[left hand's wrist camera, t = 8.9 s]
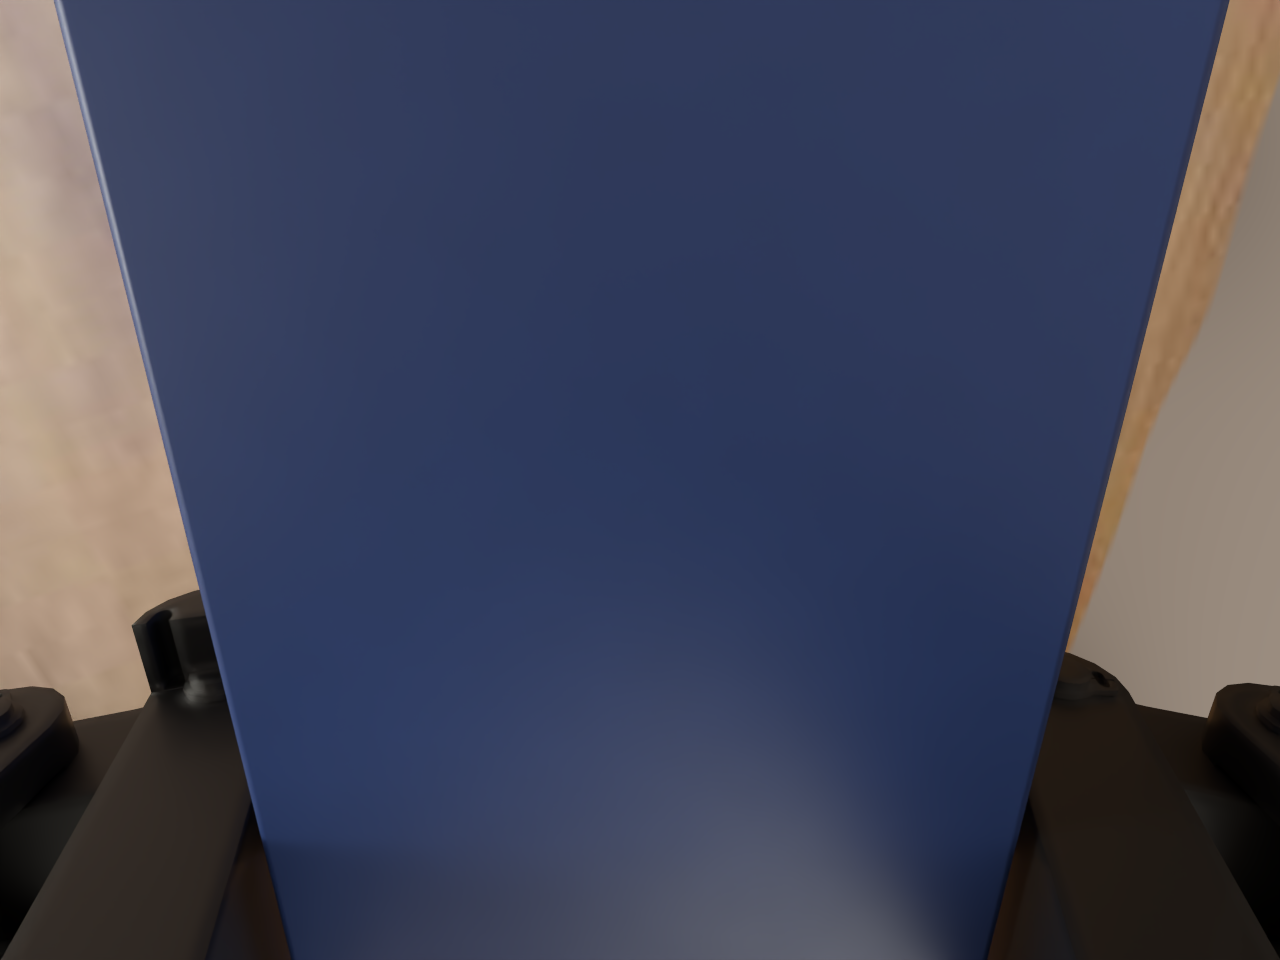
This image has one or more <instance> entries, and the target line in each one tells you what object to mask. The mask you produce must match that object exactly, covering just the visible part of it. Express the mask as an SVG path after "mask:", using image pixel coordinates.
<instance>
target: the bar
mask: <svg viewBox="0 0 1280 960" xmlns="http://www.w3.org/2000/svg"><path fill="white" fill-rule="evenodd" d="M54 3H55V7H56V11H57V15H58V19H59V23H60V27H61V31H62V35H63V39H64V44H65V48H66V52H67V56H68V60H69V64H70V68H71V72H72V76H73V80H74V84H75V88H76V92H77V96H78V100H79V104H80V108H81V112H82V116H83V120H84V124H85V128H86V132H87V136H88V141H89V145H90V149H91V153H92V157H93V161H94V165H95V169H96V173H97V177H98V181H99V185H100V189H101V193H102V197H103V201H104V205H105V209H106V213H107V217H108V221H109V225H110V229H111V233H112V237H113V242H114V246H115V250H116V254H117V258H118V262H119V266H120V270H121V274H122V278H123V282H124V286H125V290H126V294H127V298H128V302H129V306H130V310H131V314H132V318H133V322H134V326H135V330H136V334H137V339H138V343H139V347H140V351H141V355H142V359H143V363H144V367H145V371H146V375H147V379H148V383H149V387H150V391H151V395H152V399H153V403H154V407H155V411H156V415H157V419H158V423H159V427H160V431H161V436H162V440H163V444H164V448H165V452H166V456H167V460H168V464H169V468H170V472H171V476H172V480H173V484H174V488H175V492H176V496H177V500H178V504H179V508H180V512H181V516H182V520H183V524H184V528H185V532H186V537H187V541H188V545H189V549H190V553H191V557H192V561H193V565H194V569H195V573H196V577H197V581H198V585H199V589H200V593H201V597H202V601H203V605H204V609H205V613H206V617H207V621H208V625H209V629H210V634H211V638H212V642H213V646H214V650H215V654H216V658H217V662H218V666H219V670H220V674H221V678H222V682H223V686H224V690H225V694H226V698H227V702H228V706H229V710H230V714H231V718H232V722H233V726H234V730H235V735H236V739H237V743H238V747H239V751H240V755H241V759H242V763H243V767H244V771H245V775H246V779H247V783H248V787H249V791H250V795H251V799H252V803H253V807H254V811H255V815H256V819H257V823H258V827H259V832H260V836H261V840H262V844H263V848H264V852H265V856H266V860H267V864H268V868H269V872H270V876H271V880H272V884H273V888H274V892H275V896H276V900H277V904H278V908H279V912H280V916H281V920H282V924H283V929H284V933H285V937H286V941H287V945H288V949H289V953H290V957H291V960H987V959H988V955H989V951H990V947H991V943H992V939H993V935H994V931H995V927H996V923H997V919H998V915H999V911H1000V907H1001V903H1002V899H1003V895H1004V891H1005V887H1006V883H1007V879H1008V875H1009V871H1010V867H1011V864H1012V860H1013V856H1014V852H1015V848H1016V844H1017V840H1018V836H1019V832H1020V828H1021V824H1022V820H1023V816H1024V812H1025V808H1026V804H1027V800H1028V796H1029V792H1030V788H1031V784H1032V780H1033V776H1034V772H1035V768H1036V765H1037V761H1038V757H1039V753H1040V749H1041V745H1042V741H1043V737H1044V733H1045V729H1046V725H1047V721H1048V717H1049V713H1050V709H1051V705H1052V701H1053V697H1054V693H1055V689H1056V685H1057V681H1058V677H1059V673H1060V669H1061V666H1062V662H1063V658H1064V654H1065V650H1066V646H1067V642H1068V638H1069V634H1070V630H1071V626H1072V622H1073V618H1074V614H1075V610H1076V606H1077V602H1078V598H1079V594H1080V590H1081V586H1082V582H1083V578H1084V574H1085V570H1086V567H1087V563H1088V559H1089V555H1090V551H1091V547H1092V543H1093V539H1094V535H1095V531H1096V527H1097V523H1098V519H1099V515H1100V511H1101V507H1102V503H1103V499H1104V495H1105V491H1106V487H1107V483H1108V479H1109V475H1110V471H1111V468H1112V464H1113V460H1114V456H1115V452H1116V448H1117V444H1118V440H1119V436H1120V432H1121V428H1122V424H1123V420H1124V416H1125V412H1126V408H1127V404H1128V400H1129V396H1130V392H1131V388H1132V384H1133V380H1134V376H1135V372H1136V369H1137V365H1138V361H1139V357H1140V353H1141V349H1142V345H1143V341H1144V337H1145V333H1146V329H1147V325H1148V321H1149V317H1150V313H1151V309H1152V305H1153V301H1154V297H1155V293H1156V289H1157V285H1158V281H1159V277H1160V273H1161V270H1162V266H1163V262H1164V258H1165V254H1166V250H1167V246H1168V242H1169V238H1170V234H1171V230H1172V226H1173V222H1174V218H1175V214H1176V210H1177V206H1178V202H1179V198H1180V194H1181V190H1182V186H1183V182H1184V178H1185V174H1186V171H1187V167H1188V163H1189V159H1190V155H1191V151H1192V147H1193V143H1194V139H1195V135H1196V131H1197V127H1198V123H1199V119H1200V115H1201V111H1202V107H1203V103H1204V99H1205V95H1206V91H1207V87H1208V83H1209V79H1210V75H1211V72H1212V68H1213V64H1214V60H1215V56H1216V52H1217V48H1218V44H1219V40H1220V36H1221V32H1222V28H1223V24H1224V20H1225V16H1226V12H1227V8H1228V4H1229V0H54Z"/></svg>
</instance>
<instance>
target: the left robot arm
mask: <svg viewBox="0 0 1280 960" xmlns="http://www.w3.org/2000/svg"><path fill="white" fill-rule="evenodd" d="M132 628H133V632H134V635H135V638H136V642H137V645H138V649H139V652H140V655H141V659H142V662H143V665H144V669H145V672H146V676H147V679H148V682H149V686H150V689H151V692H152V693H151V695H150V696H149V698H148V700H147V702H146V704H145V705H144V707H143V708H139V709H135V710H130V711H125V712H120V713H114V714H109V715H104V716H99V717H94V718H88V719H83V720H78V721H72V718H71V715H70V712H69V709H68V706H67V704H66V701H65V698H64V696H63V695H61V694H60V693H58V692H57V691H56V690H54V689H52V688H42V687H33V686H32V687H24V688H16V689H9V690H7V689H4V690H0V960H291V957H290V953H289V949H288V945H287V941H286V937H285V933H284V929H283V924H282V920H281V916H280V912H279V908H278V904H277V900H276V896H275V892H274V888H273V884H272V880H271V876H270V872H269V868H268V864H267V860H266V856H265V852H264V848H263V844H262V840H261V836H260V832H259V827H258V823H257V819H256V815H255V811H254V807H253V803H252V799H251V795H250V791H249V787H248V783H247V779H246V775H245V771H244V767H243V763H242V759H241V755H240V751H239V747H238V743H237V739H236V735H235V730H234V726H233V722H232V718H231V714H230V710H229V706H228V702H227V698H226V694H225V690H224V686H223V682H222V678H221V674H220V670H219V666H218V662H217V658H216V654H215V650H214V646H213V642H212V638H211V634H210V629H209V625H208V621H207V617H206V613H205V609H204V605H203V601H202V597H201V593H200V590H197V591H193V592H190V593H187V594H184V595H182V596H179V597H176V598H173V599H170V600H168V601H166V602H164V603H162V604H160V605H158V606H156V607H155V608H153V609H151V610H149V611H147V612H146V613H145V614H144V615H142V616H141V617H140V618H139V619H138V620H137V621H136V622H135V623H134V624H133V625H132ZM987 960H1280V686H1268V685H1261V684H1253V683H1243V684H1234V685H1227V686H1226V687H1224V688H1223V689H1221V690H1220V691H1219V692H1217V693H1216V696H1215V699H1214V702H1213V704H1212V707H1211V710H1210V713H1209V716H1208V718H1204V717H1199V716H1193V715H1188V714H1183V713H1178V712H1173V711H1167V710H1162V709H1157V708H1152V707H1146V706H1142V705H1138V704H1135V702H1134V701H1133V699H1132V697H1131V695H1130V693H1129V692H1128V691H1127V689H1126V688H1125V687H1124V686H1123V685H1122V684H1121V683H1120V682H1119V680H1118V679H1117V678H1116V677H1115V676H1113V675H1111V674H1110V673H1108V672H1107V671H1105V670H1104V669H1102V668H1101V667H1099V666H1098V665H1096V664H1094V663H1092V662H1090V661H1087V660H1085V659H1082V658H1080V657H1078V656H1075V655H1073V654H1070V653H1067V652H1065V654H1064V658H1063V662H1062V666H1061V669H1060V673H1059V677H1058V681H1057V685H1056V689H1055V693H1054V697H1053V701H1052V705H1051V709H1050V713H1049V717H1048V721H1047V725H1046V729H1045V733H1044V737H1043V741H1042V745H1041V749H1040V753H1039V757H1038V761H1037V765H1036V768H1035V772H1034V776H1033V780H1032V784H1031V788H1030V792H1029V796H1028V800H1027V804H1026V808H1025V812H1024V816H1023V820H1022V824H1021V828H1020V832H1019V836H1018V840H1017V844H1016V848H1015V852H1014V856H1013V860H1012V864H1011V867H1010V871H1009V875H1008V879H1007V883H1006V887H1005V891H1004V895H1003V899H1002V903H1001V907H1000V911H999V915H998V919H997V923H996V927H995V931H994V935H993V939H992V943H991V947H990V951H989V955H988V959H987Z"/></svg>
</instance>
